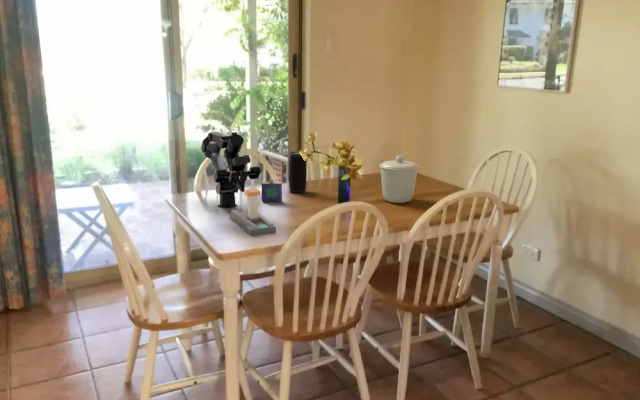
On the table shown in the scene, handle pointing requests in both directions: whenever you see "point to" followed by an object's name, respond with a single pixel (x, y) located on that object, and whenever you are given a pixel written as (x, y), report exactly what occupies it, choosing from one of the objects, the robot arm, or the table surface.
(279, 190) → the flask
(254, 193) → the slider handle
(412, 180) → the canister
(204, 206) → the table surface
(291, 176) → the portable speaker
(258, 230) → the fader track
